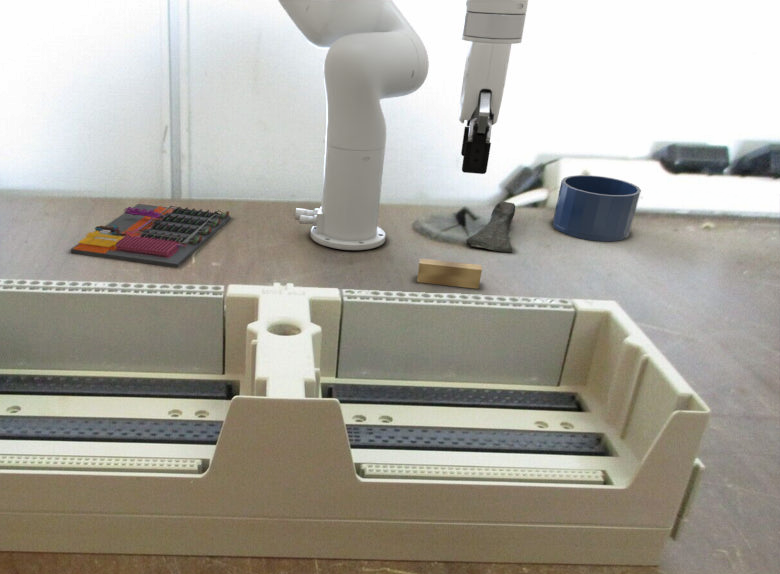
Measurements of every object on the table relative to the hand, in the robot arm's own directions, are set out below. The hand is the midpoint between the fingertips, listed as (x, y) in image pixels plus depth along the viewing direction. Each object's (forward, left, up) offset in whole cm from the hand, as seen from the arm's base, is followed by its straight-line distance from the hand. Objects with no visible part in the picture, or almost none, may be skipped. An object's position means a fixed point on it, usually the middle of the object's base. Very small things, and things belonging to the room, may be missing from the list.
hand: (472, 164), depth 106 cm
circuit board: (-49, +6, -18) cm, 52 cm away
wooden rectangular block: (-1, -1, -17) cm, 17 cm away
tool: (+8, +25, -18) cm, 31 cm away
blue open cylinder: (+24, +33, -17) cm, 44 cm away
